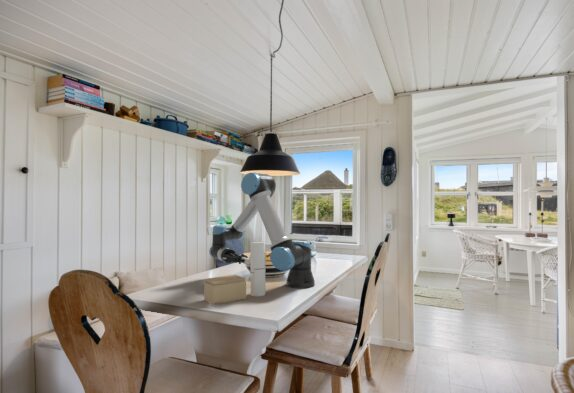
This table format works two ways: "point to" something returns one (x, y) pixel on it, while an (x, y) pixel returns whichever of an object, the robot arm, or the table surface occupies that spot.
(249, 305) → the table surface
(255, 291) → the cylindrical container
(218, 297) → the box
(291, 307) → the table surface
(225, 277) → the lid
